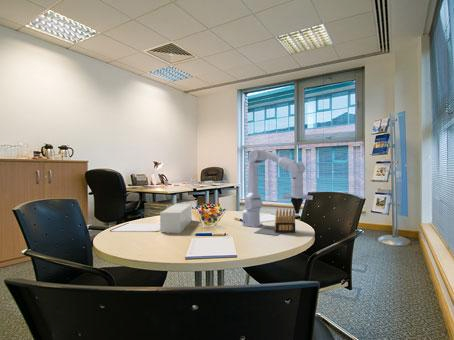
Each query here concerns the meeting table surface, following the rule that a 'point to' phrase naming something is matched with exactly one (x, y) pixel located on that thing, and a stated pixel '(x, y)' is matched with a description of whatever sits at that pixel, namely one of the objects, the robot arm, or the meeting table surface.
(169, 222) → the light grey rectangular block
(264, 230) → the rubber mat
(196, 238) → the meeting table surface
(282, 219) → the ammunition clip
